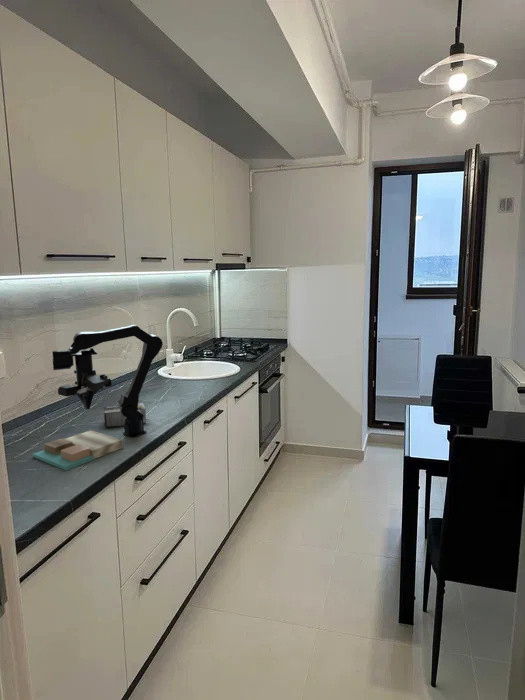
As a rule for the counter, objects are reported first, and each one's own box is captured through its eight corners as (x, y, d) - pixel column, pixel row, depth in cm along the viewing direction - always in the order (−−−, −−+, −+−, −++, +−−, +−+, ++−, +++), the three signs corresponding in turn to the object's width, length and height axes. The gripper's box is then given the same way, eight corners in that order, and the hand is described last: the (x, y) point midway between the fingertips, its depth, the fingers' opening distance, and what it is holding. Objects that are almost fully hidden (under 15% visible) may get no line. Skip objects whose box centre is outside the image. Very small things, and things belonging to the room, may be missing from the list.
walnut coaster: (62, 444, 166) (61, 438, 166) (72, 448, 163) (72, 441, 162) (44, 450, 161) (44, 443, 161) (55, 454, 157) (54, 447, 157)
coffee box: (144, 416, 201) (104, 421, 196) (143, 402, 200) (103, 406, 194) (146, 423, 192) (104, 428, 187) (145, 408, 191) (103, 412, 186)
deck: (91, 437, 176) (91, 430, 176) (122, 447, 166) (122, 439, 166) (62, 447, 167) (61, 439, 166) (93, 459, 156) (92, 450, 156)
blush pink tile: (78, 451, 160) (78, 444, 160) (90, 455, 157) (89, 448, 156) (61, 457, 155) (60, 450, 155) (72, 461, 152) (71, 454, 151)
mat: (60, 447, 167) (60, 444, 167) (93, 459, 156) (92, 456, 156) (33, 457, 159) (33, 453, 159) (65, 470, 148) (65, 466, 148)
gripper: (73, 375, 157) (77, 419, 160) (120, 365, 172) (122, 406, 174) (55, 371, 163) (59, 414, 166) (101, 362, 178) (104, 401, 181)
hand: (87, 409), depth 172 cm, fingers closed
